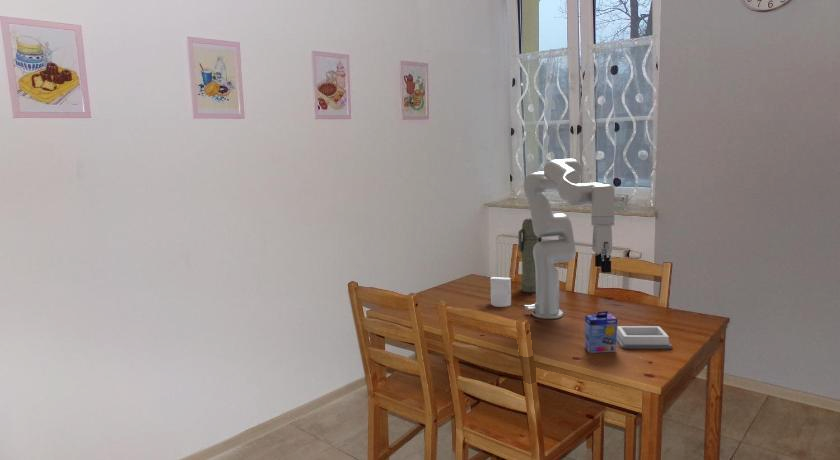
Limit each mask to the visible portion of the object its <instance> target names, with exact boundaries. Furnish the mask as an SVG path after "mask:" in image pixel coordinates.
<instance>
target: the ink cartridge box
mask: <svg viewBox="0 0 840 460" xmlns="http://www.w3.org/2000/svg"><path fill="white" fill-rule="evenodd" d="M584 323H585V324H584V349H585V350H586V351H587V352H588V353H589V354H598V353H615V352H616V351H617V340H616V339H617V326H618V318H617V317H616V316H614V315H613V314H611V313H609V311H608V310H607V311H597V313H596V314H588V315H585V316H584Z"/></svg>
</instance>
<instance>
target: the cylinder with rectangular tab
mask: <svg viewBox="0 0 840 460" xmlns="http://www.w3.org/2000/svg"><path fill="white" fill-rule="evenodd" d="M489 279H490V280H489V281H490V304H491V306H492V305H493V307H495V308H496V307H498V308H505V307H509V306H511V305H512V290H511V289H512V285H511V284H512V283H511V282H512V278H511V277H503V276H502V277H500V276H492V277H490V278H489Z"/></svg>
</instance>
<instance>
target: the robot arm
mask: <svg viewBox="0 0 840 460" xmlns="http://www.w3.org/2000/svg"><path fill="white" fill-rule="evenodd" d="M581 174H582V166H581V164H580V162H579V161H578V160H577V159H574V158H564V159H563V158H562V159H559V158H558V159H552V160H549V161H547V162H545V164H544V166H543V171H537V172H536V171H535V172H532V173H529V174H527V175H526V176H525V178H524V180H523V181H524V182H523V192H524V195H525V198H526V200H527V203H528V206H529V209H530V211H529V212H530V217H531V218H530V219H532V224H533V230H534V233H535V235H536V236H537V237H542V238H551V237H555V238H556V237H557V238H558V239H547V240H542V241H541V242H538V243H536V244H535V246H534V248H533V255H534V260H535V269H536V292H535V302H534V303H532V304H524V310H527V311H529V312H531V311H532V312H531V313H532V315H533V316H534V317H535V318H539V319H545V320H551V319H552V320H553V319H559V318H562V317H563V316H564V312H563V310H561V309H560V273H559V270H558V269H557V268H556V266H555V264H557V263H565V262H570V261H573V260H574V259H575V257H576V244H575V243H576V242H575V237H574V231H573V226H572V221H571V219H570V217H569V216H568V215H566V213H553V211H552V207H551V203H550V200H549V199H548V198H547V197H546V195H544V194H543V193H552V192H554V193H555V192H558V194H559V197H560V199H562V200H563V201H564V202H566V203H567V204H568V205H572V206H585V205H590V206H591V210H590V211H591V214H590V215H591V218H590V219H591V222H590V223H591V226H593V227H592V241H591V242H592V243H591V244H592V245H591V246H592V248H591V249H592V251H593V253H595V254H594V255H595V256H594V261H595V262H594V267H596V268H599V267H600V272H601V273H603V274H604V273H605V274H606V273H607V274H608V273H612V255H611V254H612V253H613V230H612V226H615V187H614V185H612V184H609V183H607V184H605V183H604V184H603V183H602V182H587V183H586V182H585V183H583V182H582V183H580V181H581V176H582V175H581Z"/></svg>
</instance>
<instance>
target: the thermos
mask: <svg viewBox="0 0 840 460" xmlns="http://www.w3.org/2000/svg"><path fill="white" fill-rule="evenodd" d="M517 237H518V251H519V252H520V256H521V257H522V258H521V260H522V261H521V264H522V265H521V269H522V270H521V272H522V274H521V277H520V279H521V280H520V282H521V283H520V285H521V291H522V292H524V293H531V292H532V293H536V269H535V260H534V255H533V248H534V246H535V244H536V243H538V242H541V241H543V237H537V236H536V235H535V233H534V230H533V224H532V218H525V219H523V222H522V224H521V229H519V231H518V236H517Z"/></svg>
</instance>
